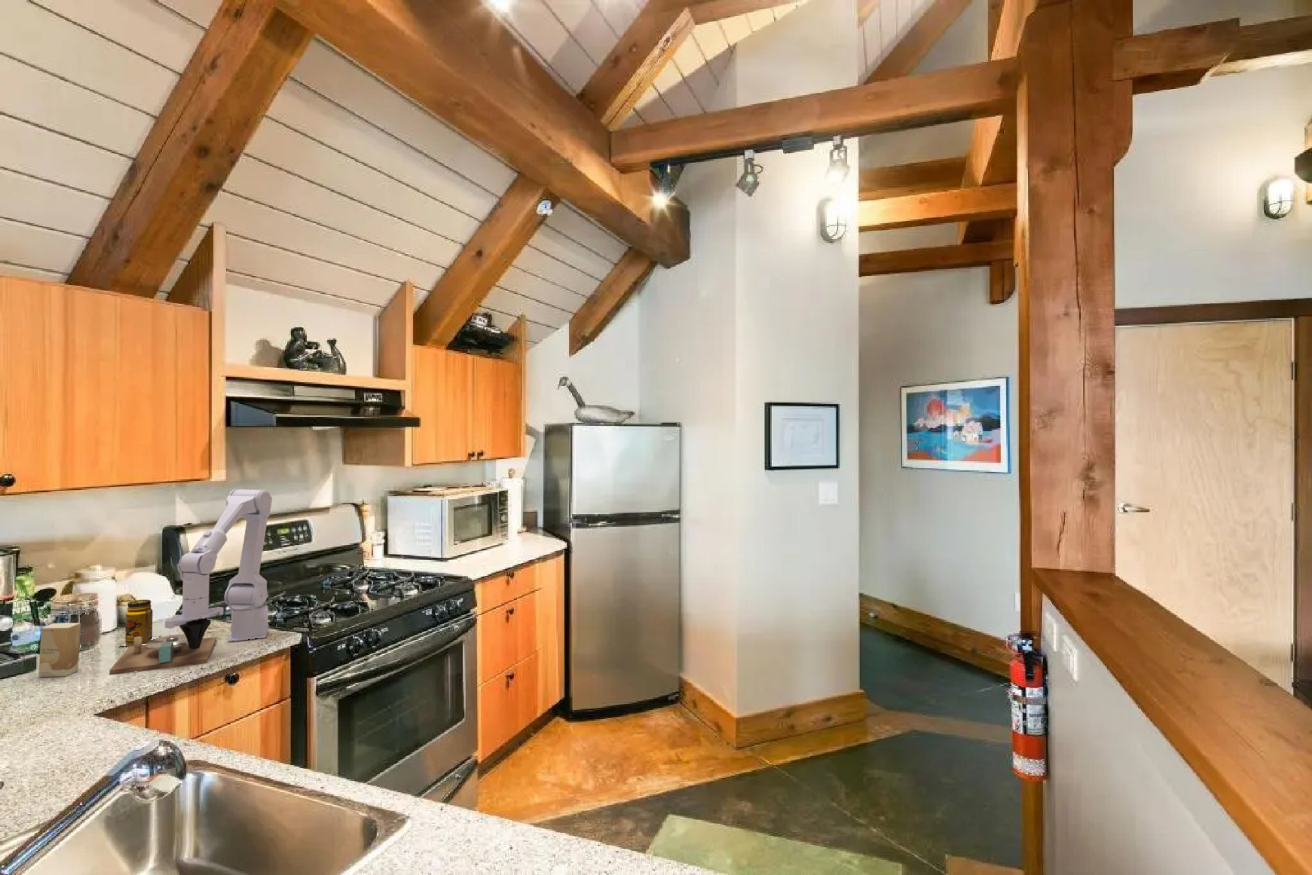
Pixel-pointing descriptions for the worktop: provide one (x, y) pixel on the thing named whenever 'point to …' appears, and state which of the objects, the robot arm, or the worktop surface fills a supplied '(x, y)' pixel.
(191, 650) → the walnut base
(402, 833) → the worktop surface
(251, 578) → the robot arm
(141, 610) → the condiment
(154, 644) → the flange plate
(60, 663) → the skincare box
